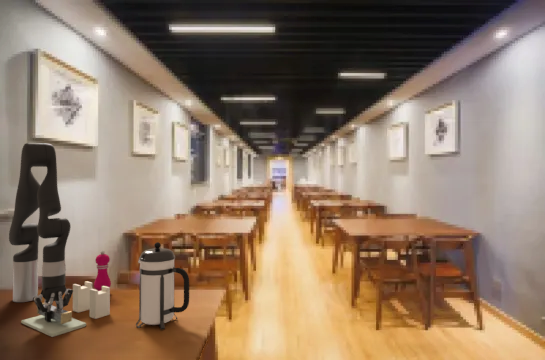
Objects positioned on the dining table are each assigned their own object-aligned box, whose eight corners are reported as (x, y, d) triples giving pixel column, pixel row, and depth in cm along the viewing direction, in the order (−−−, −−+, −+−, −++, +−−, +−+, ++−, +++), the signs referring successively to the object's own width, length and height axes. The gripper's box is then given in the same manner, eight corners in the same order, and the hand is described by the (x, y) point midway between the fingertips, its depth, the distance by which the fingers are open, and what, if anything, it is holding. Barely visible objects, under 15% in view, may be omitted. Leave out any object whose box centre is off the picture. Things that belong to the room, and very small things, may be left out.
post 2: (89, 316, 150) (89, 289, 150) (103, 312, 155) (103, 285, 155) (95, 318, 148) (95, 290, 148) (109, 314, 153) (109, 287, 153)
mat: (21, 323, 143) (21, 320, 143) (54, 313, 153) (54, 311, 153) (52, 337, 131) (52, 334, 131) (86, 326, 141) (86, 323, 141)
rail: (36, 313, 146) (36, 304, 146) (46, 311, 148) (46, 302, 148) (62, 324, 136) (62, 314, 136) (71, 321, 138) (71, 311, 138)
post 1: (72, 310, 157) (72, 284, 157) (86, 306, 162) (87, 281, 162) (78, 312, 155) (78, 285, 155) (92, 308, 160) (92, 282, 160)
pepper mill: (104, 296, 175) (104, 252, 175) (90, 295, 177) (90, 251, 177) (114, 292, 182) (114, 249, 182) (100, 291, 184) (100, 249, 184)
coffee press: (139, 335, 133) (140, 247, 133) (132, 320, 147) (133, 240, 147) (189, 326, 141) (190, 243, 141) (178, 313, 155) (179, 237, 155)
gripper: (67, 268, 150) (67, 312, 150) (28, 275, 138) (27, 324, 138) (78, 270, 146) (77, 316, 146) (38, 278, 134) (38, 328, 134)
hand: (53, 320), depth 142 cm, fingers closed on rail, 3 cm apart
